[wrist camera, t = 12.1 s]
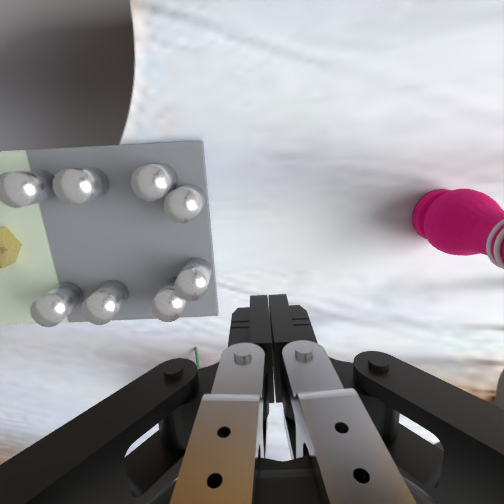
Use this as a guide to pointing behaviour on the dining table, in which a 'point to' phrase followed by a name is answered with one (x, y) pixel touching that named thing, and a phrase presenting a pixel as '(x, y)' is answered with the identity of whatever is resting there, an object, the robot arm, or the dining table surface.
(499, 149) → the dining table surface
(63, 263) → the board
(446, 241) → the pepper mill
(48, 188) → the spacers
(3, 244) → the nut
